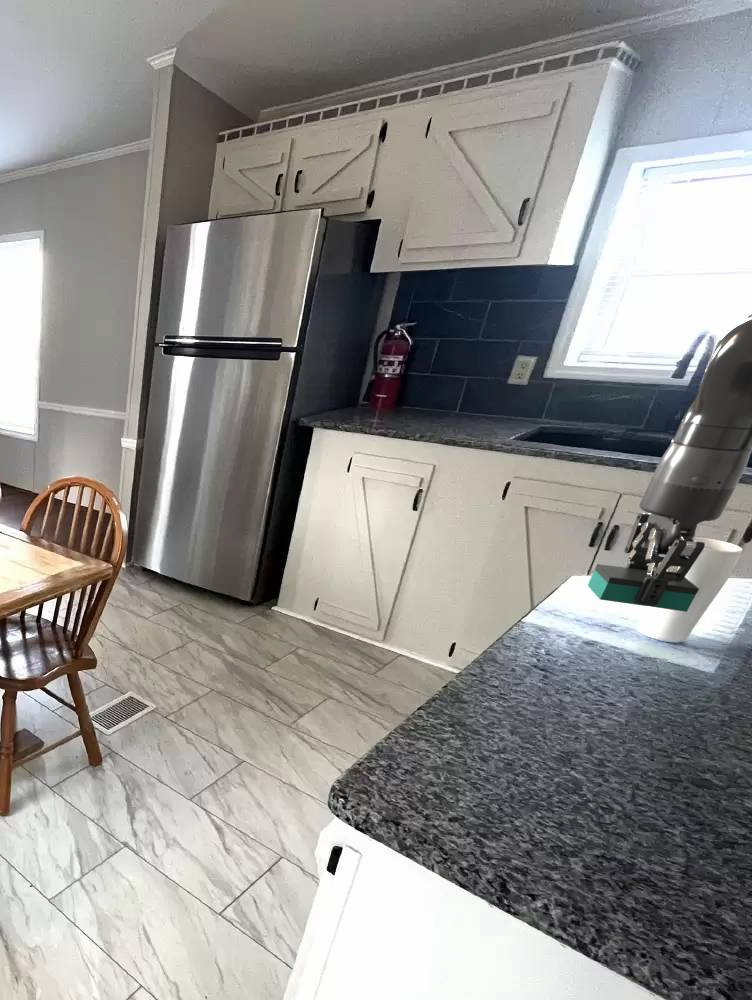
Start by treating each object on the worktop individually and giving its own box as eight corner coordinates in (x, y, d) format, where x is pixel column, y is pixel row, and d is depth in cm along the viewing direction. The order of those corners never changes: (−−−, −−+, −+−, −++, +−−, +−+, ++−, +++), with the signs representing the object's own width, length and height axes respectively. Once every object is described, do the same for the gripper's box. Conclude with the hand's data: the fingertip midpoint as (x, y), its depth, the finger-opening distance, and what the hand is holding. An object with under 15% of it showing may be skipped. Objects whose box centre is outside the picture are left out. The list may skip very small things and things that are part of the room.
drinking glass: (688, 651, 92) (740, 555, 86) (624, 634, 97) (669, 542, 91) (696, 637, 96) (747, 544, 90) (635, 621, 101) (679, 532, 94)
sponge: (669, 596, 91) (681, 574, 89) (686, 612, 86) (699, 588, 85) (587, 585, 95) (597, 563, 93) (599, 599, 90) (610, 577, 89)
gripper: (764, 496, 76) (695, 621, 83) (708, 469, 87) (651, 581, 94) (678, 489, 79) (619, 610, 86) (634, 464, 90) (585, 573, 98)
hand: (636, 594), depth 90 cm, fingers closed on sponge, 5 cm apart
